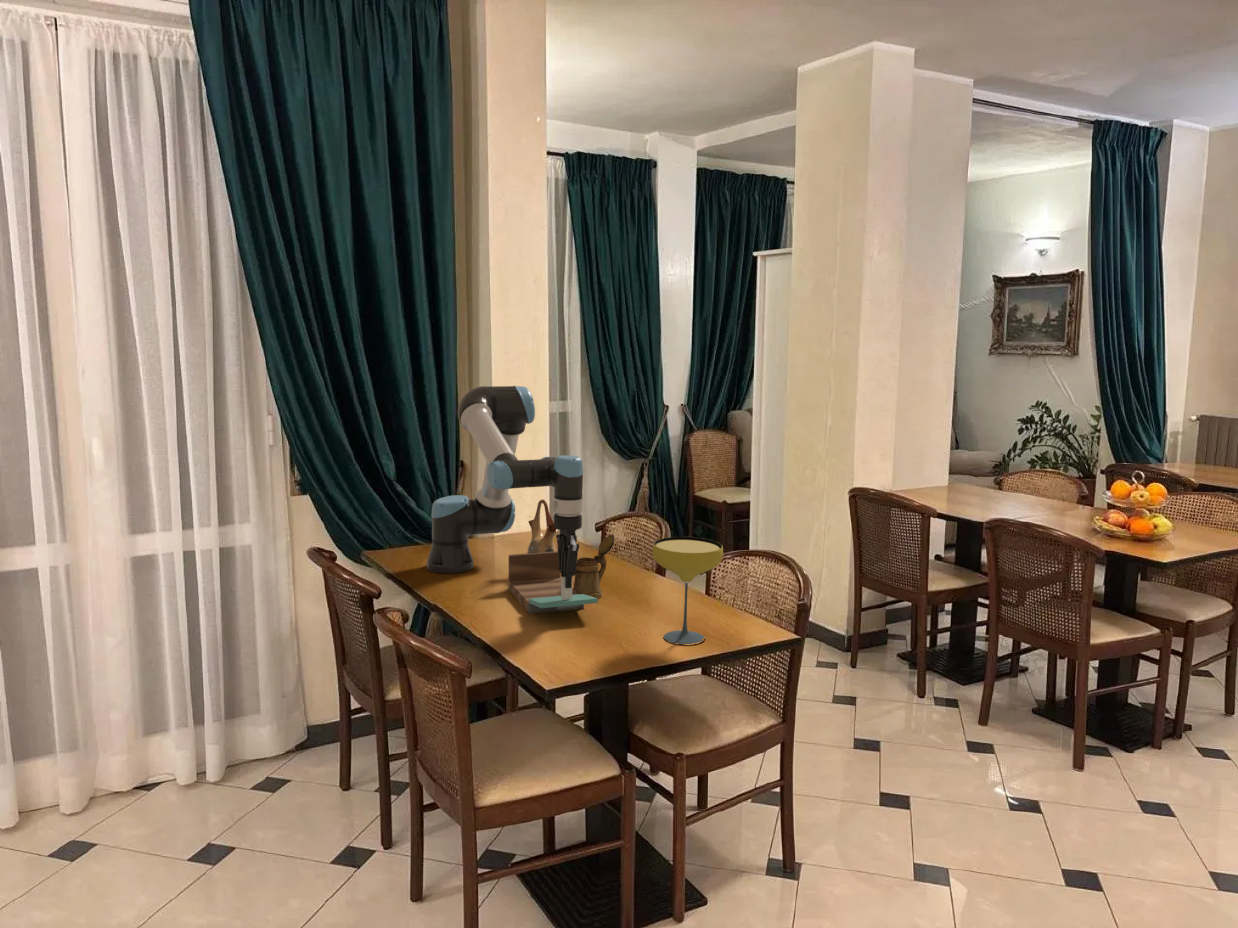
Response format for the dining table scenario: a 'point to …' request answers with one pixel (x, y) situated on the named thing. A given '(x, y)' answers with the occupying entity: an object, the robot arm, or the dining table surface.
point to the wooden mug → (592, 570)
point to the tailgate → (563, 601)
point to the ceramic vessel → (538, 539)
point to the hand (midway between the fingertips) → (566, 598)
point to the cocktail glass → (686, 570)
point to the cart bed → (536, 579)
